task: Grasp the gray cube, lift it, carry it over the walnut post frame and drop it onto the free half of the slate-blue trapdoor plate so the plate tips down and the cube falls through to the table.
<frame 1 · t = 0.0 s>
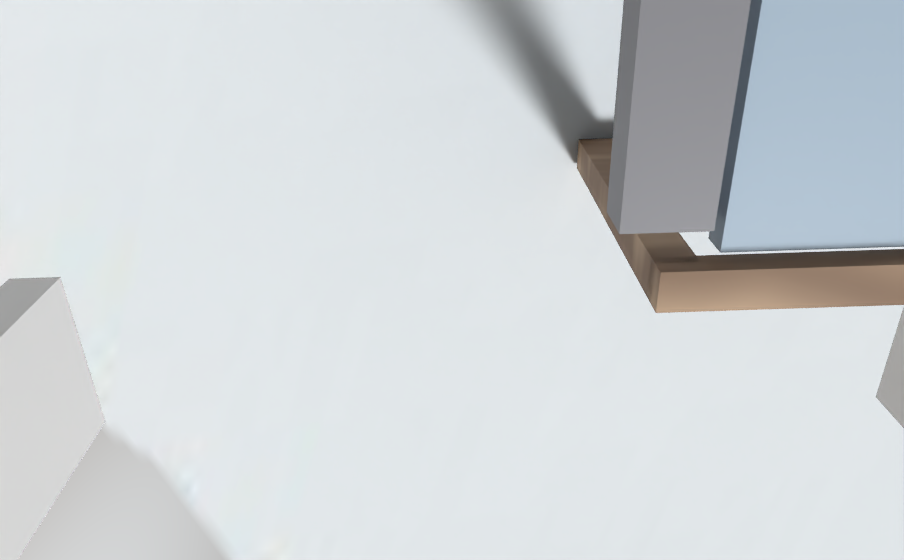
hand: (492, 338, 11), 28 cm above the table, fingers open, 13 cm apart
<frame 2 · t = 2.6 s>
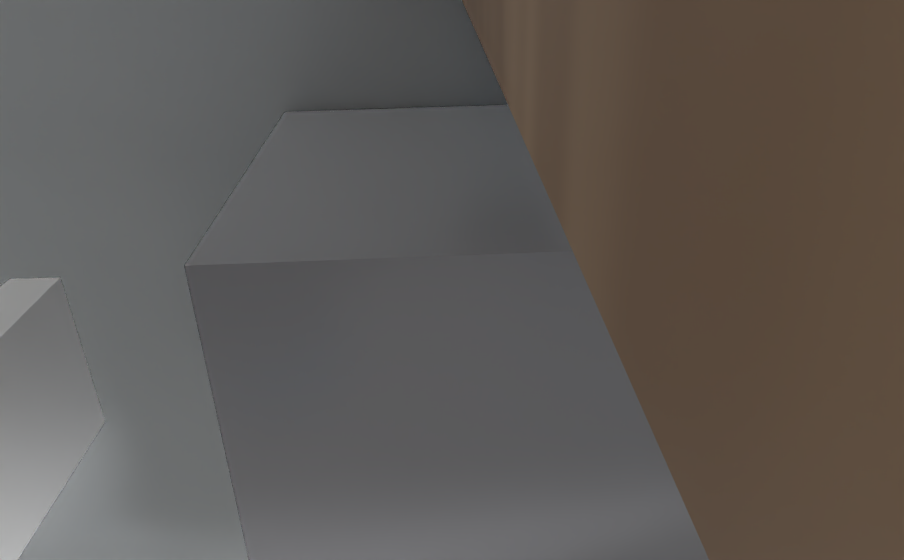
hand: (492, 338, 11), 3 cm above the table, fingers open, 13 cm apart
gray cube: (459, 260, 14), on the table
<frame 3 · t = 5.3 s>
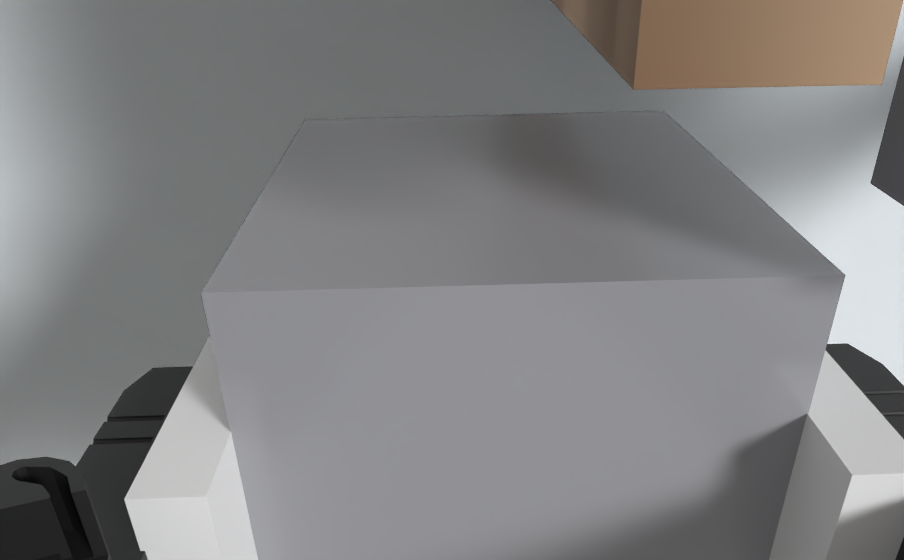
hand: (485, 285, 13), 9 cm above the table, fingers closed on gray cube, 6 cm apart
gray cube: (484, 274, 13), point 9 cm above the table, touching gripper
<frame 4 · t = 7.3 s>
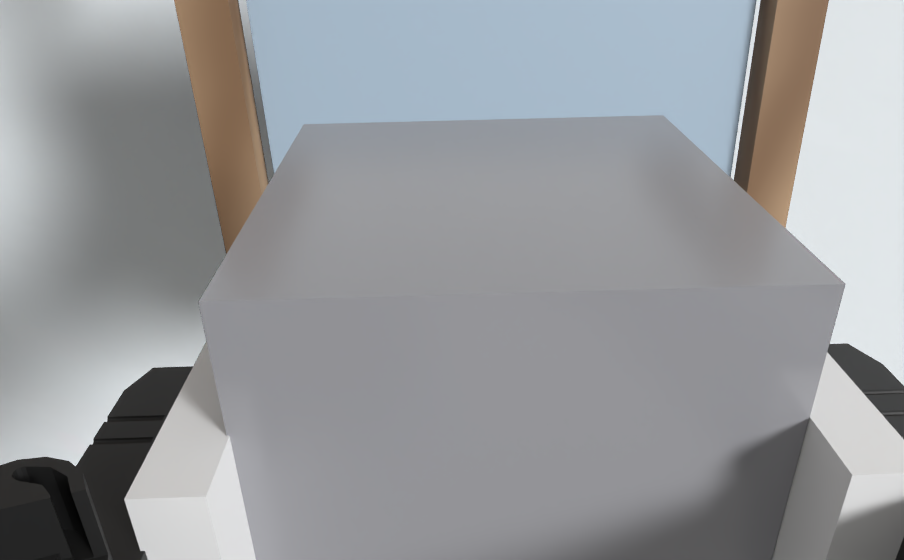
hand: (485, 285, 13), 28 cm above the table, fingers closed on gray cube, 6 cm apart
gray cube: (483, 278, 13), point 27 cm above the table, touching gripper
plate: (503, 122, 25), point 14 cm above the table, hinge at -0.1°
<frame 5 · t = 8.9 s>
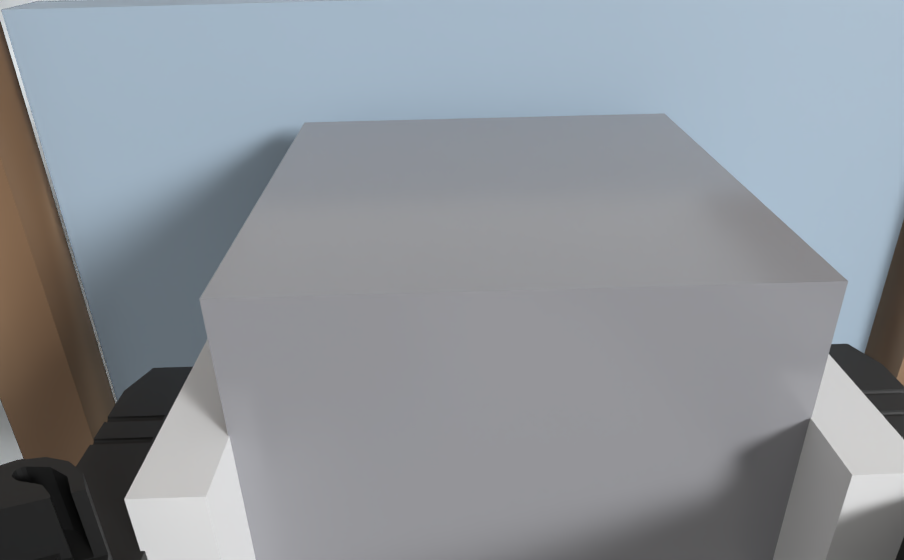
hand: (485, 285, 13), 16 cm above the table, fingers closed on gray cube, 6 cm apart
frame: (463, 95, 28), on the table
gray cube: (484, 277, 13), point 16 cm above the table, touching gripper
plate: (486, 388, 16), point 14 cm above the table, hinge at -0.1°
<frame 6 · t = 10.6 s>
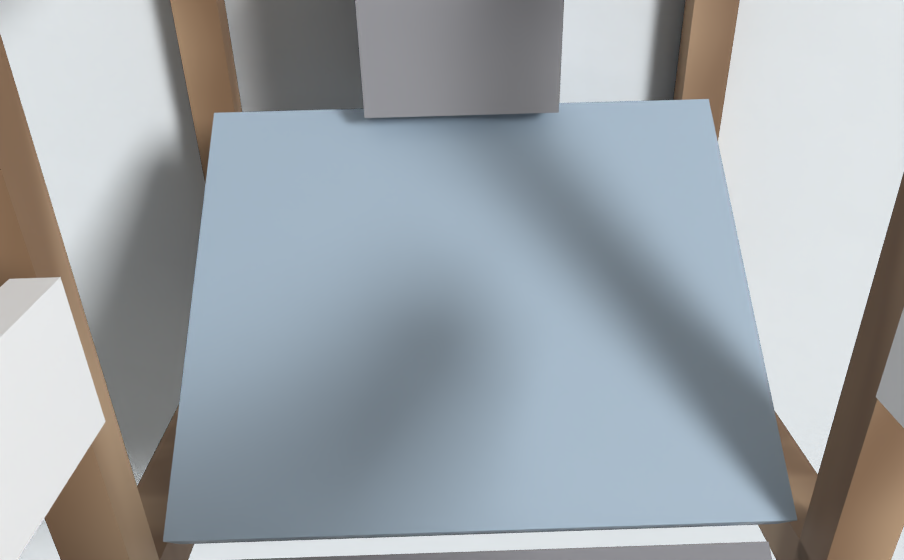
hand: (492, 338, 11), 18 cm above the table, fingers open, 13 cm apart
frame: (458, 97, 28), on the table
gray cube: (458, 92, 25), point 3 cm above the table, tilted 90°, touching plate
plate: (472, 359, 20), point 11 cm above the table, hinge at -50.8°, touching gray cube
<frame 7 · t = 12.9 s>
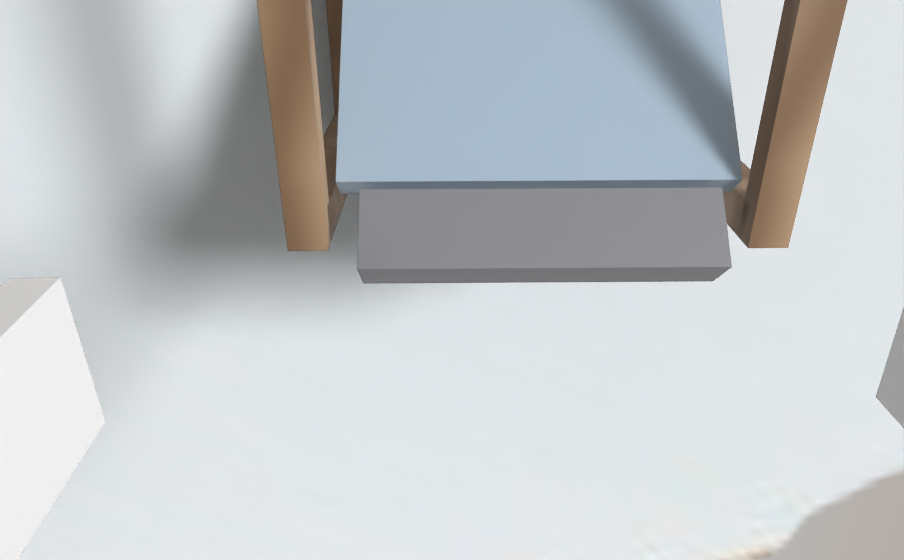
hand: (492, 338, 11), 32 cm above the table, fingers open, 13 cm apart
plate: (533, 83, 30), point 11 cm above the table, hinge at -43.5°, touching gray cube
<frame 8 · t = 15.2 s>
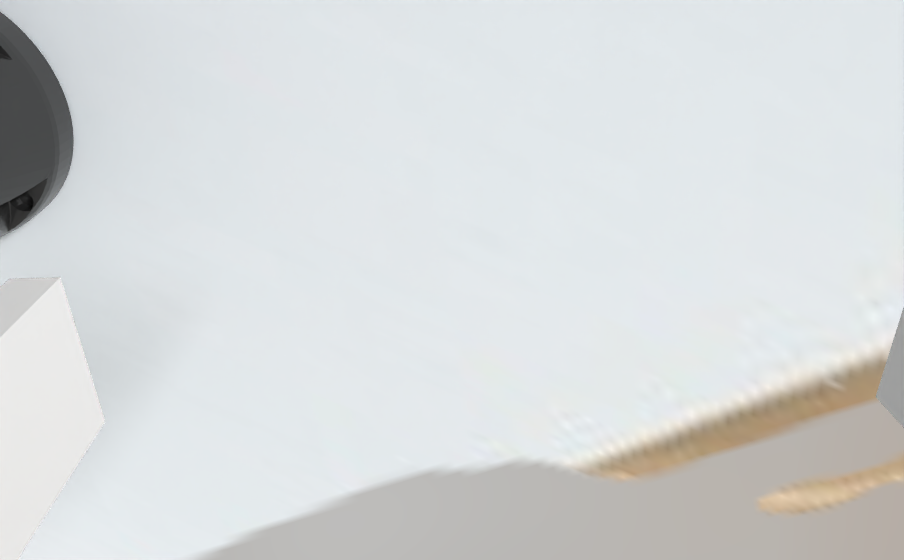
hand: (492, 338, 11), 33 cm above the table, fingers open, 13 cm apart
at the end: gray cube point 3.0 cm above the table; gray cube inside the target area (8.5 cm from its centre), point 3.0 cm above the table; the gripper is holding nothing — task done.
